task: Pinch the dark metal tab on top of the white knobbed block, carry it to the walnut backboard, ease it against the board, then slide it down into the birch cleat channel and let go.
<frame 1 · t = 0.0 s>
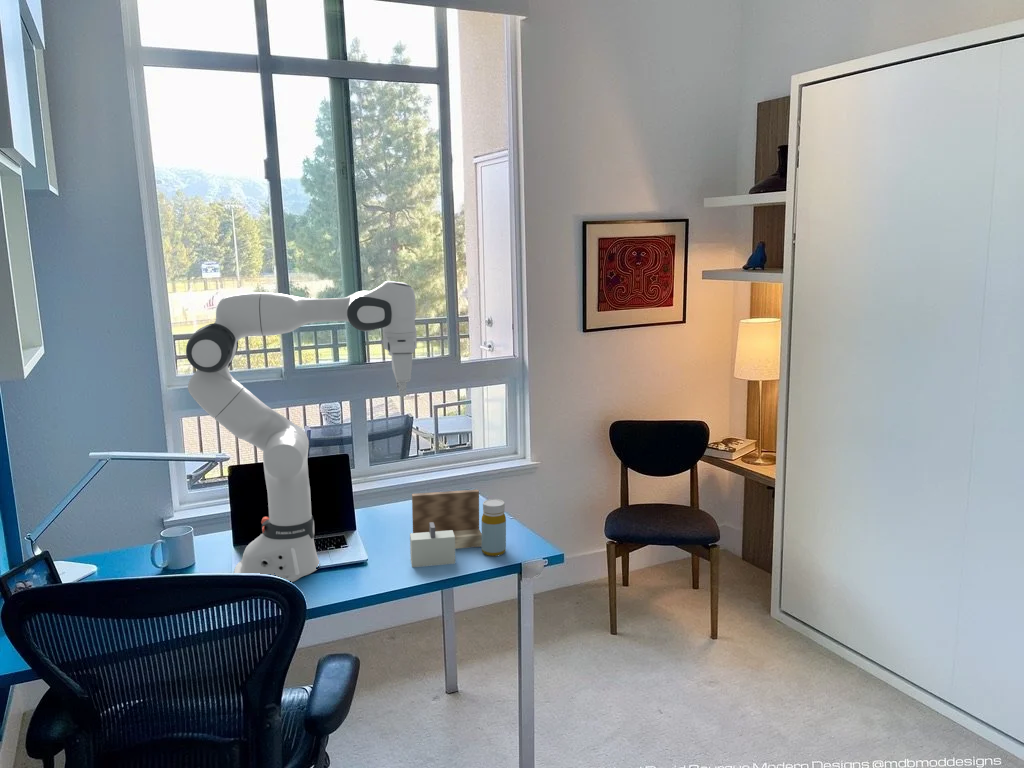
hand: (401, 392, 205), 48 cm above the table, fingers open, 8 cm apart
wall board: (448, 542, 225), on the table
white knobbed block: (432, 561, 213), on the table
bottle: (493, 552, 219), on the table
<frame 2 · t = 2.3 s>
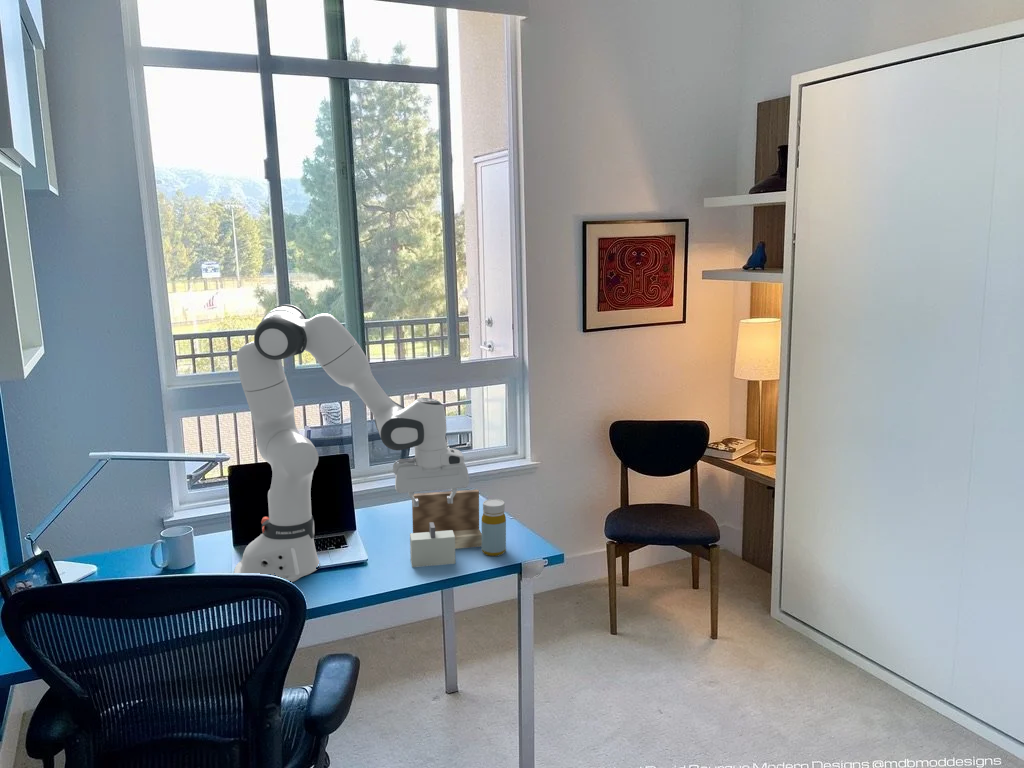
hand: (433, 504, 209), 17 cm above the table, fingers open, 8 cm apart
nothing on the table moved.
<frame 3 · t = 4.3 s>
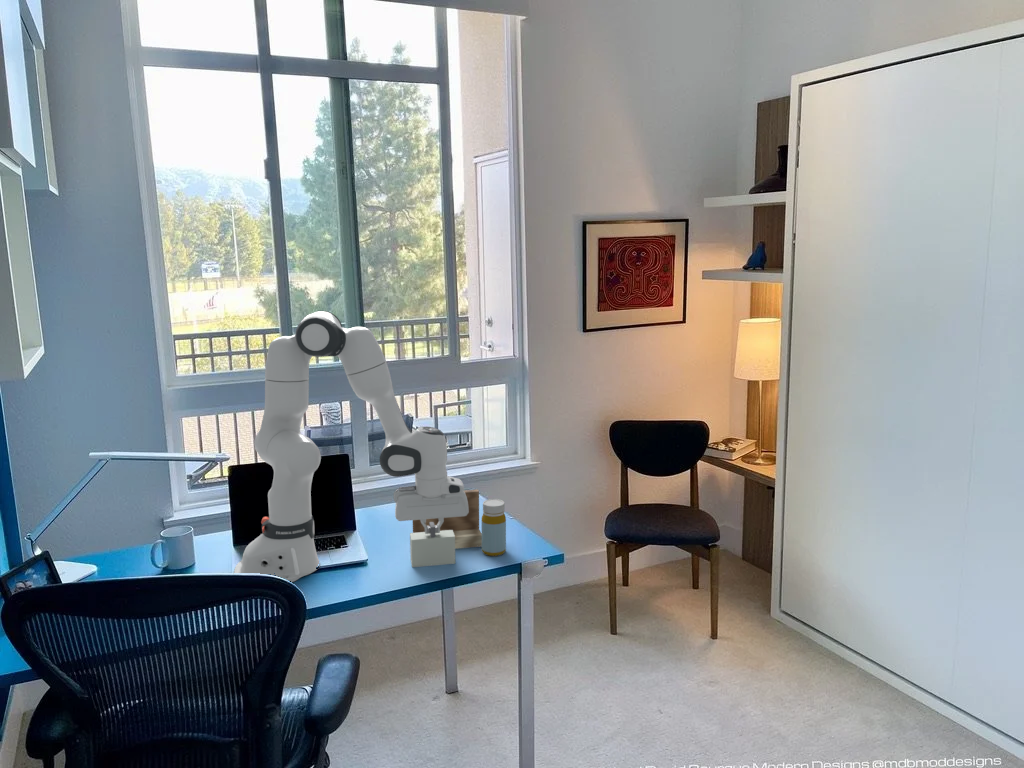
hand: (432, 532, 211), 9 cm above the table, fingers closed on white knobbed block
white knobbed block: (432, 561, 213), on the table, touching gripper
everything else where it was.
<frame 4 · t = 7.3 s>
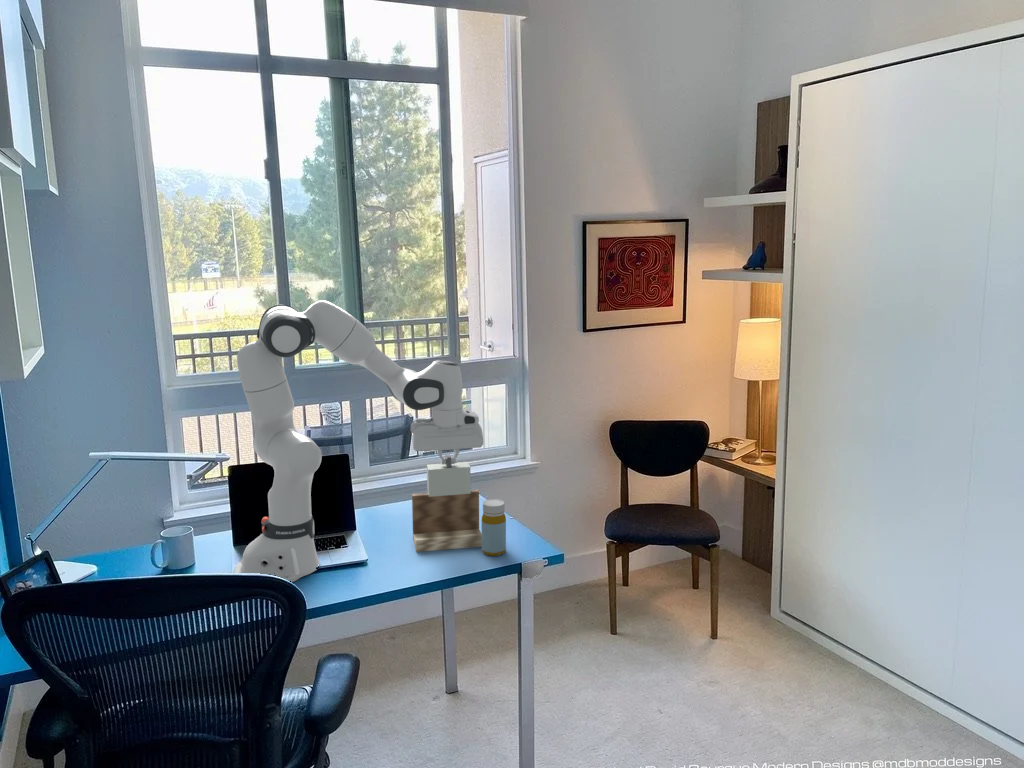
hand: (448, 463, 218), 26 cm above the table, fingers closed on white knobbed block
white knobbed block: (448, 492, 219), point 17 cm above the table, touching gripper
everything else where it was.
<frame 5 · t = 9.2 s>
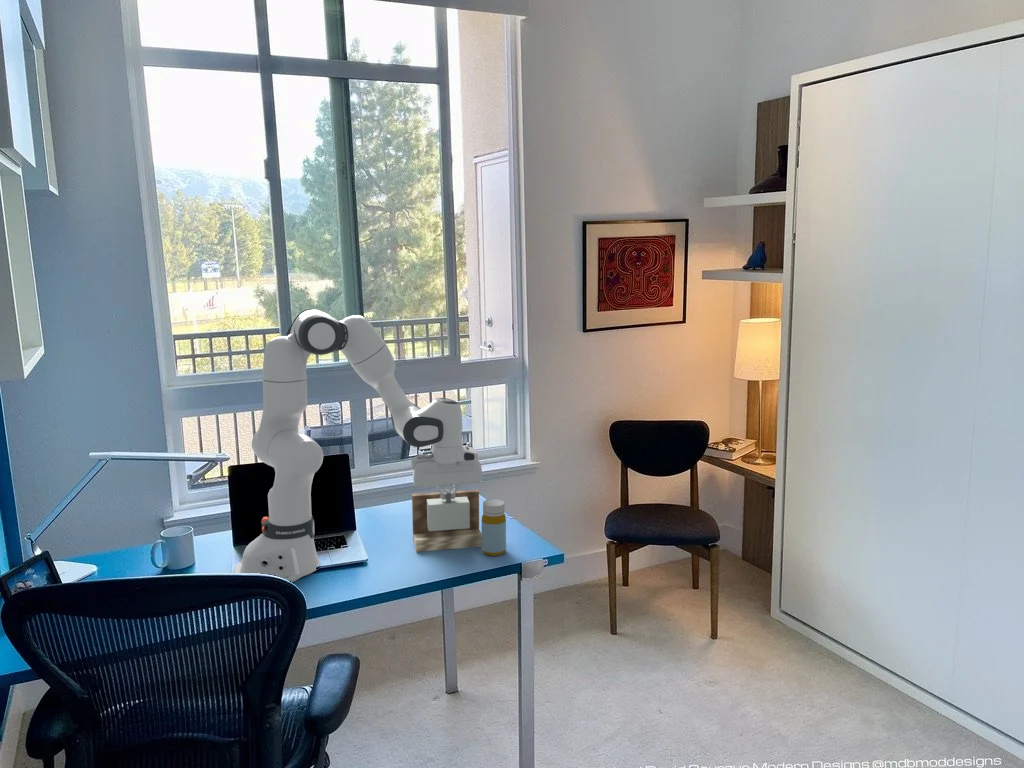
hand: (448, 498, 222), 14 cm above the table, fingers closed on white knobbed block
white knobbed block: (448, 526, 224), point 5 cm above the table, touching gripper
everything else where it was.
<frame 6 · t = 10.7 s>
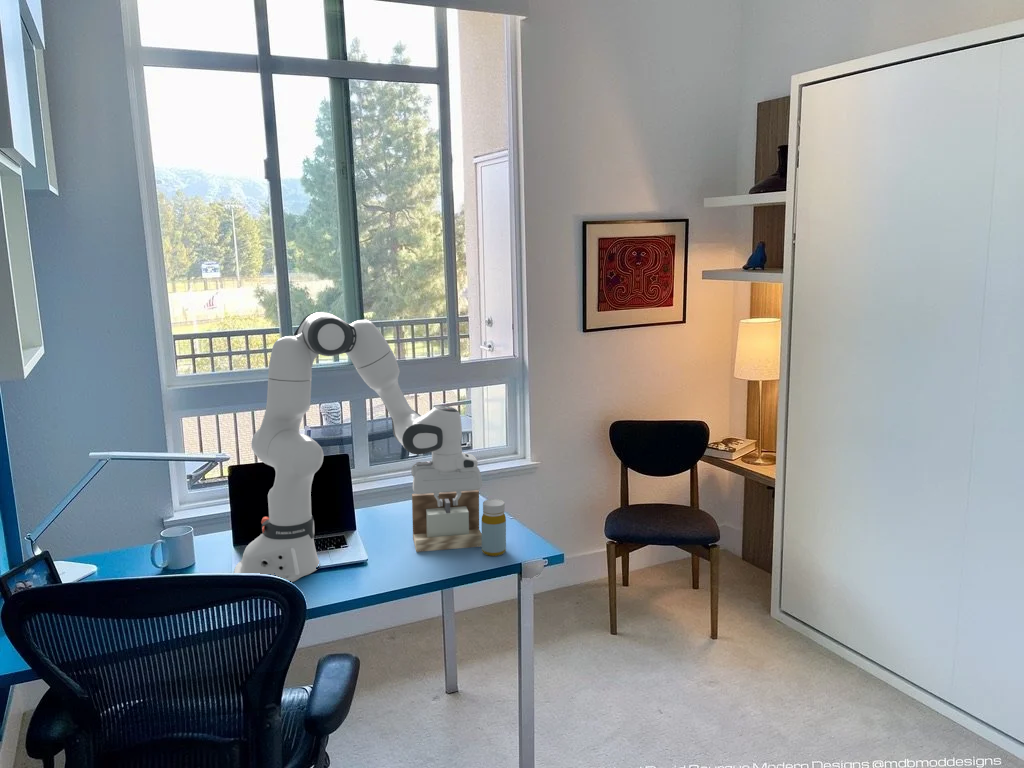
hand: (447, 505, 224), 12 cm above the table, fingers open, 3 cm apart
white knobbed block: (447, 536, 225), point 2 cm above the table, touching wall board
everything else where it was.
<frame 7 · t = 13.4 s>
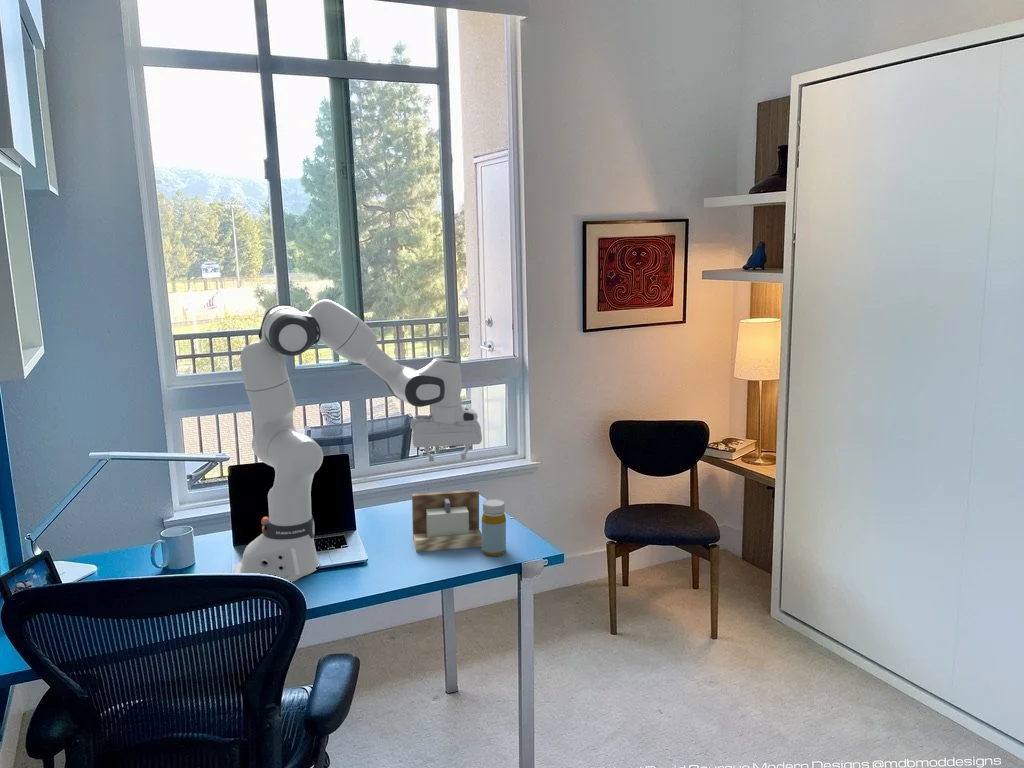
hand: (447, 459, 221), 26 cm above the table, fingers open, 8 cm apart
nothing on the table moved.
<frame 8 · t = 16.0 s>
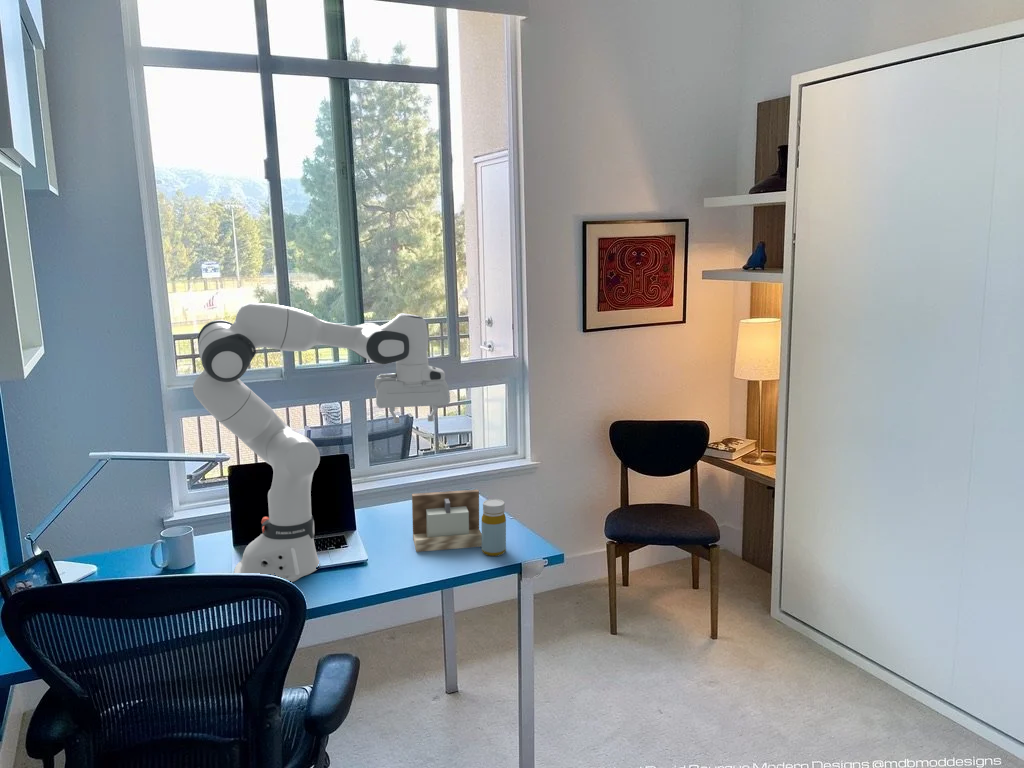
hand: (413, 421, 210), 39 cm above the table, fingers open, 8 cm apart
nothing on the table moved.
at the end: white knobbed block inside the target area on the wall board (0.1 cm from its centre), point 2.0 cm above the wall board's base; white knobbed block tilted 0°; the gripper is holding nothing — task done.
